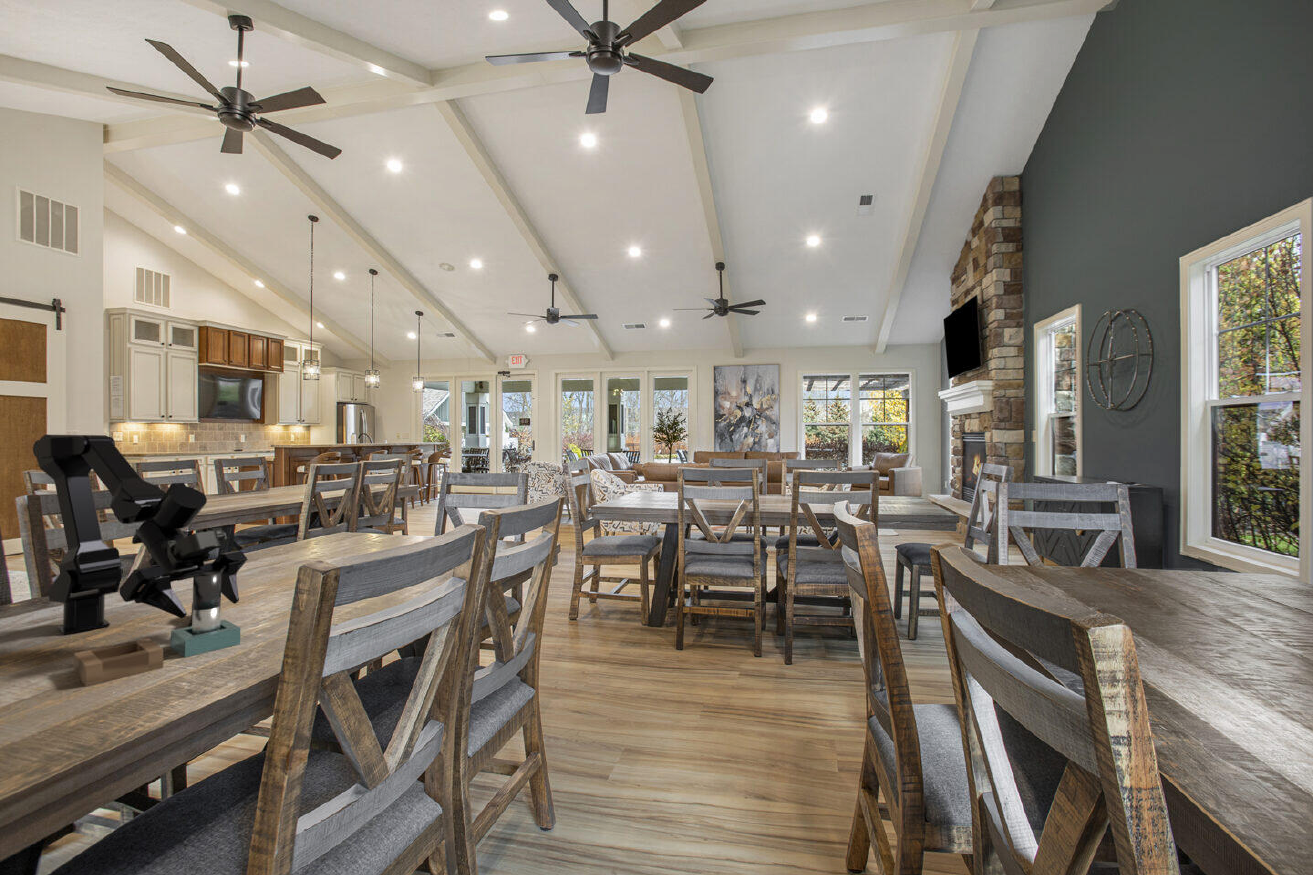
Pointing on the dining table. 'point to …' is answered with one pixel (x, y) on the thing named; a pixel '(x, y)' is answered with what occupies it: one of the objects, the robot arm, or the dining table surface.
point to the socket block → (205, 639)
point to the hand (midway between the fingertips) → (211, 608)
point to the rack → (117, 661)
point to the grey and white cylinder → (206, 602)
